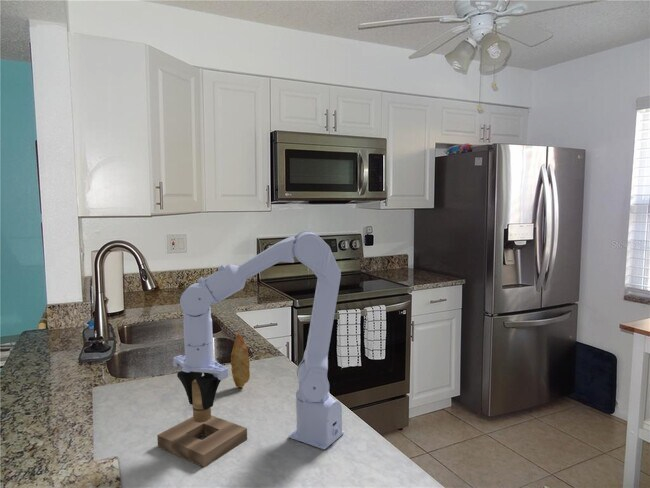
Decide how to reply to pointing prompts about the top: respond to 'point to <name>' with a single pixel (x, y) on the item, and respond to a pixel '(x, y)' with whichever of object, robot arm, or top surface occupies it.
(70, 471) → the top surface
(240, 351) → the stone tool
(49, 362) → the top surface
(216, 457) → the board
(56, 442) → the top surface
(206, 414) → the dowel
